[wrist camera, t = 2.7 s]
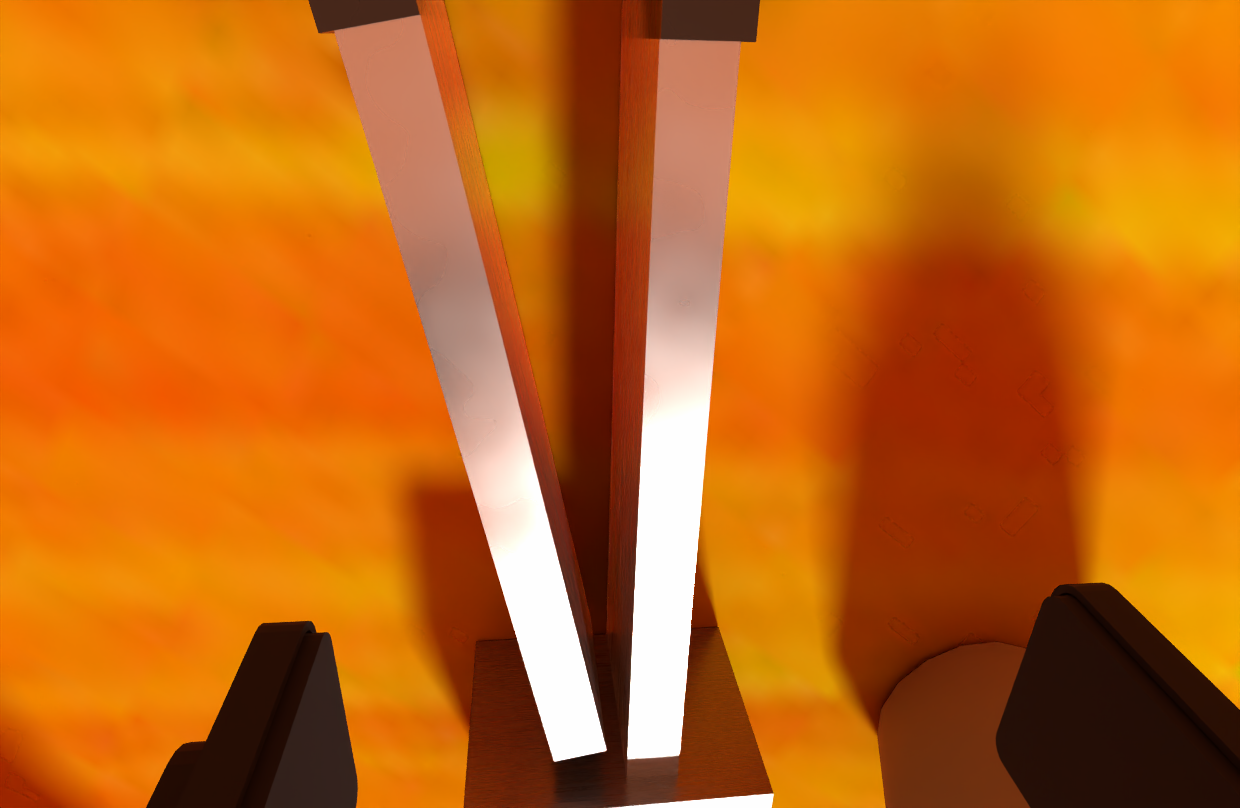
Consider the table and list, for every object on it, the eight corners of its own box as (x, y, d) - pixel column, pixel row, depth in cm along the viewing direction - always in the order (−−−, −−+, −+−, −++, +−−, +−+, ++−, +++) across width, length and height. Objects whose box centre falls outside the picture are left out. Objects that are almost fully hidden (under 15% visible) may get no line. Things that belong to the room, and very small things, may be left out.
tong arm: (590, 613, 21) (606, 752, 17) (541, 624, 21) (545, 765, 17) (385, -244, 13) (320, -374, 9) (303, -229, 13) (198, -354, 9)
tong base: (705, 747, 25) (751, 925, 20) (485, 764, 24) (475, 955, 19) (806, -200, 14) (961, -328, 9) (413, -226, 13) (350, -382, 8)
